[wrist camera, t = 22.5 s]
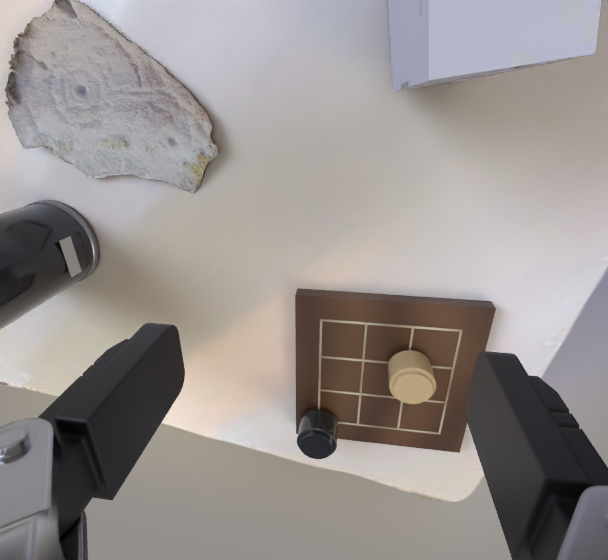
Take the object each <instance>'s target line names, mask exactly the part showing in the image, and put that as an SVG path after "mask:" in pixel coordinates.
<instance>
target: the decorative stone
mask: <svg viewBox="0 0 608 560" xmlns="http://www.w3.org/2000/svg"><path fill="white" fill-rule="evenodd" d="M15 39H16V40H15V41H14V42H13V43H14V46H13V47H14V51H15V54H13V55H11V58H12V59H11V61H9V64H10V65H12V66H10V67H9V69H13V71H12V72H10V74H9V77H8V82H7V86H6V88H5V91H6V92H7V94H6V95H7V96H6V97H7V98H8V101H7V102H6V101H5V102H6V104H7V105H8V106H9V111H8V115H9V117H10V118H9V119H10V120H11V121H12V124H13V127H14V129H15V131H16V134H17V136H18V138H19V140H20V142H21V143H22V146H23V148H25V149H28V148H35V147H38V146H48V147H50V148H51V149H52V150H53V152H54V153H55V154H56V155H57V156H58V157H59V158H61V159H63V160H64V161H65V162H67V163H70V164H73V165H75V166H76V167H77V168H78V169H79V170H81V171H82V172H83V173H85V175H86V176H87V177H90V178H97V179H98V178H104V177H106V176H110V175H127V174H130V173H131V175H132V174H133V175H136V176H137V177H140V178H141V179H143V178H145V179H148V178H149V179H154V180H155V179H156V180H162V181H166V182H167V183H170V184H171V185H173V186H177V187H179V188H182V189H183V190H185V191H188V192H191V193H194V192H195V190H196V189H197V188H198V186H200V184H201V182H202V180H201V179H202V174H203V171H204V170H205V168H206V165H207V164H208V163H209V161H211V160H212V159H214V158H215V157H216V156H217V154H218V149H217V148H218V147H217V145H215V144H213V143H212V140H210V139H211V136H210V133H211V131H212V125H211V121H210V120H209V117H208V115H207V114H206V112H205V111H204V110H203V108H202V107H201V106H200V105H199V104H198V103H197V102H196V101H195V99H194V98H193V96H192V95H191V94H190V92H188V91H187V90H186V88H185V87H183V85H181V83H179V82H178V81H177V80H176V79H175V78H172V76H171V75H170V74H168V73H167V72H166V70H165V69H164V68H163V66H161V65H160V64H159V63H157V61H155V60H153V59H152V58H151V57H148V56H147V55H146V54H144V52H142V51H141V50H140V48H139V47H138V46H136V45H135V44H134V43H132V42H128V41H127V40H126V39H125V38H124V37H123V36H121V35H120V34H119V32H117V31H116V30H115V29H113V28H112V27H111V26H110V25H108V22H106V21H104V20H103V19H102V18H100V17H99V16H98V15H96V14H95V13H94V12H93V11H91V10H90V9H89V7H87V6H86V5H83V4H81V3H80V2H79V1H76V0H57V1H56V0H55V1H54V2H53V5H52V9H50V10H49V11H48V12H46V13H44V14H43V15H42V16H41V17H39V16H38V17H34V19H32V21H31V22H30V24H29V23H28V24H27V26H26V28H25V30H24V33H21V34H18V38H17V37H16V38H15Z"/></svg>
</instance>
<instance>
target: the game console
mask: <svg viewBox="0 0 608 560" xmlns="http://www.w3.org/2000/svg"><path fill="white" fill-rule="evenodd" d="M601 3H602V0H388V13H389V38H390V63H391V72H392V80H393V89H394V91H400V90H406V89H412V88H419V87H425V86H432V85H438V84H445V83H451V82H458V81H464V80H470V79H474V78H479V77H484V76H489V75H494V74H499V73H504V72H509V71H514V70H519V69H524V68H529V67H534V66H538V65H543V64H548V63H553V62H558V61H563V60H568V59H573V58H578V57H583V56H588V55H593V54H595V53H596V45H597V36H598V27H599V19H600V10H601Z"/></svg>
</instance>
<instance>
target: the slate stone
mask: <svg viewBox="0 0 608 560" xmlns="http://www.w3.org/2000/svg"><path fill="white" fill-rule="evenodd" d="M337 434H338V422H337V420H336V418H335V417H334V416H333V415H332V414H330V413H329V412H327V411H325V410H322V409H314V410H311V411H308V412H306V413H305V414H304V415H303V416H302V418H301V421H300V426H299V431H298V437H297V444H298V447H299V448H300V450H301V451H302V452H303V453H304V454H305V455H307V456H308V457H311V458H314V459H323V458H326V457H328V456H329V455H331V454H332V453H333V452H334V451H335V449H336V446H337Z"/></svg>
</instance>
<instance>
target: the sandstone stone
mask: <svg viewBox="0 0 608 560" xmlns="http://www.w3.org/2000/svg"><path fill="white" fill-rule="evenodd" d="M388 379H389V389H390V391H391V393H392V395H393V396H394V397H395V398H396V399H398V400H399V401H401V402H404V403H408V404H419V403H422V402H424V401H426V400H428V399H429V398H430V397H431V396H432V395H433V394H434V392H435V390H436V381H435V377H434V374H433V370H432V366H431V362H430V360H429V359H428V358H427V357H426V356H425V355H424V354H422V353H420V352H418V351H413V350H406V351H401V352H399V353H397V354H395V355H394V356H393V357H392V358H391V359H390V361H389V363H388Z"/></svg>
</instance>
